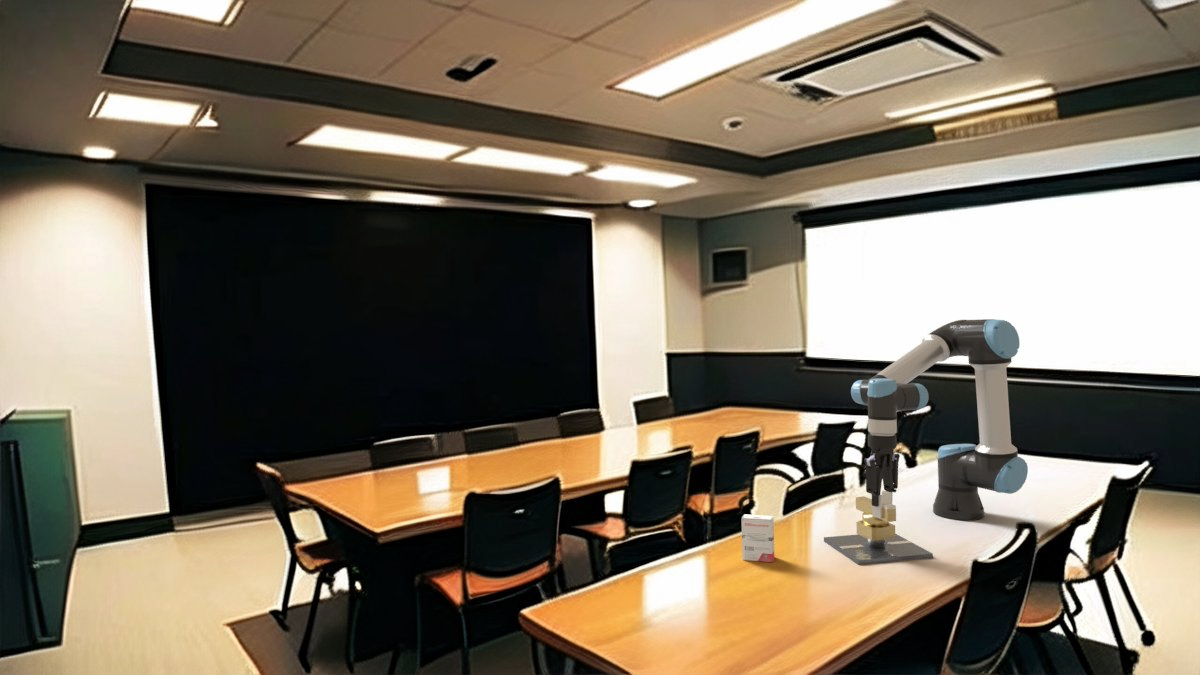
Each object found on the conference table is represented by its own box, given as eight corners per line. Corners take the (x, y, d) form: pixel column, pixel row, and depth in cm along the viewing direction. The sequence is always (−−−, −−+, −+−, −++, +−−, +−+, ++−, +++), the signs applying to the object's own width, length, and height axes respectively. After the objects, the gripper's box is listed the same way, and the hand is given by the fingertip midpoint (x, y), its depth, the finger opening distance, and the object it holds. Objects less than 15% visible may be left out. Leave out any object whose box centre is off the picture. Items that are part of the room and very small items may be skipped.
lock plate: (891, 535, 211) (891, 512, 211) (932, 557, 191) (932, 532, 191) (823, 541, 208) (823, 517, 208) (858, 564, 188) (857, 538, 188)
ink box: (775, 556, 196) (774, 514, 196) (773, 562, 192) (772, 520, 191) (744, 554, 199) (743, 513, 199) (741, 560, 194) (740, 518, 194)
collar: (871, 527, 207) (871, 492, 207) (904, 541, 194) (903, 504, 193) (849, 530, 205) (848, 495, 205) (880, 544, 192) (879, 507, 191)
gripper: (888, 428, 203) (888, 507, 204) (851, 435, 194) (851, 518, 195) (911, 432, 197) (911, 513, 198) (875, 438, 188) (875, 524, 188)
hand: (882, 515), depth 196 cm, fingers closed on collar, 4 cm apart
